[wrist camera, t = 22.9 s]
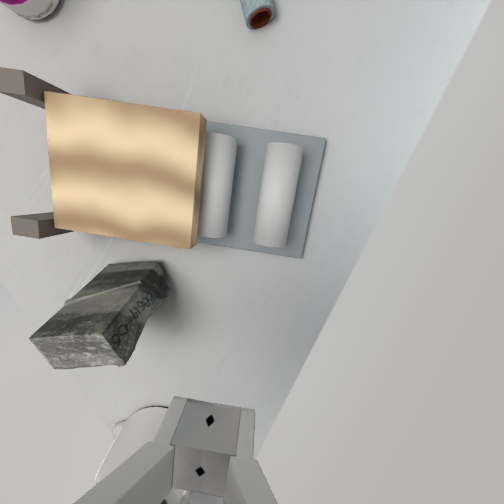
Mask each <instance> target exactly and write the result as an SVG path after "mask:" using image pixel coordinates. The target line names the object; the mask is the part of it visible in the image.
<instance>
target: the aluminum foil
mask: <svg viewBox="0 0 504 504" xmlns="http://www.w3.org/2000/svg"><path fill="white" fill-rule="evenodd" d="M240 2H241V6H242V10H243V13H244V17H245V21H246V24H247V27H249V28H250V29H253V28H260V27H263V26H264V25H266V24H267V23H268V22H270V21H271V19H272V18H273V16H274V13H275V10H274V6H273V2H272V0H240Z"/></svg>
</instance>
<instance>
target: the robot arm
mask: <svg viewBox="0 0 504 504" xmlns="http://www.w3.org/2000/svg"><path fill="white" fill-rule="evenodd" d="M254 429H255V410H253V409H247V408H241V407H236V406H229V405H223V404H217V403H215V404H214V403H209V402H204V401H199V400H194V399H189V398H183V397H178V396H175V397H174V398H173V399H172V401H171V403H170V405H169V407H168V409H167V408H162V407H148V408H144V409H141V410H139V411H137V412H135V413H134V414H133V415H132V416H131V417H130V418H129V419H127V420H126V421H123V422H120V423H118V424H116V425H115V427H114V428H113V430H112V435H113V438H114V441H113V443H112V445H111V447H110V449H109V450H108V453H107V454H106V456H105V458H104V460H103V462H102V464H101V465H100V467H99V469H98V471H97V473H96V476H95V479H96V485H95V486H94V487H93V488H92V489H90V490H89V491H88V492H87V493H86V494H85V495H83V496H82V497H81V498H80V499H78V500H77V501H76V502H75V503H74V504H189V502H190V498H191V494H192V491H195V492H200V493H205V494H210V495H214V496H219V497H223V498H224V503H225V504H277V502H276V499H275V497H274V495H273V493H272V491H271V489H270V486H269V484H268V482H267V480H266V478H265V476H264V474H263V472H262V469H261V467H260V465H259V463H258V461H257V460H253V449H254Z"/></svg>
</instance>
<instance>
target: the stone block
mask: <svg viewBox="0 0 504 504" xmlns="http://www.w3.org/2000/svg"><path fill="white" fill-rule="evenodd" d="M169 290H170V289H169V288H168V286H167V283H166V280H165V277H164V274H163V270H162V268H161V267H160V265H159V264H158V262H132V263H119V264H109V265H108V266H106V267H105V268H104V269H103V270H102V271H101V272H100V273H99V274H98V275H97V276H95V277H94V278H93V279H92V280H91V281H90V282H89V283H88V284H87V285H86V286H85V287H83V288H82V289H81V290H80V291H79V292H78V293H77V294H76V295H74V296H73V297H72V298H71V299H68V300H66V302H65V303H64V306H63V307H62V308H61V309H60V310H59V311H58V312H57V313H56V314H55V315H54V316H53V317H51V318H50V319H49V320H48V321H47V322H46V323H45V324H44V325H43V326H42V327H40V328H39V329H38V330H37V331H36V332H35V333H34V334H33V335H32V336H31V337H30V338H29V339H30V340H31V342H32V343H33V344H34V346H35V347H36V348H37V349H38V351H39V352H40V353H41V354H42V355H43V357H44V358H45V359H46V360H47V362H48V363H49V364H50V365H51V366H52V367H53V368H54V369H72V368H79V367H96V366H105V365H117V366H119V367H122V366H124V365H126V363H127V361H128V360H129V358H130V357H131V355H132V353H133V351H134V350H135V346H136V344H137V341H138V339H139V337H140V335H141V333H142V330H143V328H144V326H145V323H146V321H147V319H148V318H149V316H151V315H152V313H153V311H154V310H155V309H156V308H157V307H159V306H160V305H161V304H162V303H163V301H164V299H165V298H166V297H167V295H168V292H169Z"/></svg>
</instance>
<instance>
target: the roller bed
mask: <svg viewBox="0 0 504 504" xmlns="http://www.w3.org/2000/svg"><path fill="white" fill-rule="evenodd" d="M44 91H49V92H56V93H63V94H70V93H68V92H66V91H64V90H62V89H60V88H58V87H56V86H54V85H51V84H49V83H47V82H45V81H43V80H41V79H39V78H37V77H35V76H33V75H31V74H29V73H27V72H25V71H23V70H16V69H9V68H2V67H0V93H3V94H5V95H8V96H11V97H14V98H16V99H19V100H22V101H25V102H27V103H30V104H33V105H36V106H38V107H41V108H44V109H45V99H44ZM70 95H72V94H70ZM325 141H326V138H319V137H312V136H306V135H299V134H292V133H285V132H278V131H271V130H264V129H257V128H250V127H243V126H236V125H229V124H222V123H216V122H209V121H207V125H206V137H205V148H204V160H203V172H202V184H201V196H200V208H199V219H198V231H197V242H199V243H206V244H212V245H218V246H225V247H231V248H238V249H244V250H250V251H257V252H263V253H270V254H276V255H282V256H289V257H295V258H301V256H302V251H303V246H304V242H305V237H306V232H307V227H308V222H309V218H310V213H311V208H312V203H313V199H314V194H315V189H316V184H317V179H318V175H319V170H320V165H321V160H322V156H323V151H324V146H325ZM11 223H12V231H13V235H19V236H25V237H32V238H38V239H40V238H45V237H49V236H54V235H59V234H64V233H68V232H73V231H72V230H66V229H59V228H55V227H54V214H53V212H50V213H40V214H30V215H20V216H11Z"/></svg>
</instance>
